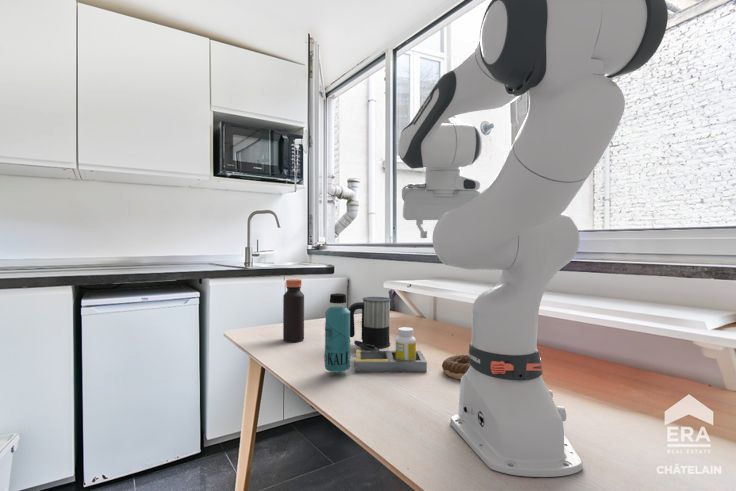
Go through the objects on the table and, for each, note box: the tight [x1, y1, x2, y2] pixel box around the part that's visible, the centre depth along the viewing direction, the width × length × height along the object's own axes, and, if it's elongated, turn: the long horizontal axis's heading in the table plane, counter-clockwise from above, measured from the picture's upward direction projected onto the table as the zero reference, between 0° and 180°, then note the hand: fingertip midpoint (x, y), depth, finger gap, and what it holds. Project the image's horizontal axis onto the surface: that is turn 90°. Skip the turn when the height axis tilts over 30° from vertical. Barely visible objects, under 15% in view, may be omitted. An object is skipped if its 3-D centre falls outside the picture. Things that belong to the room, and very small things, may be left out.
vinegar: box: [282, 278, 305, 343], centre depth 125 cm, size 7×7×20 cm
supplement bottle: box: [395, 326, 417, 360], centre depth 101 cm, size 5×5×10 cm
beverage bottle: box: [323, 292, 351, 373], centre depth 94 cm, size 6×7×20 cm
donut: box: [441, 354, 470, 381], centre depth 94 cm, size 11×11×4 cm
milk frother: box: [347, 296, 392, 351], centre depth 117 cm, size 14×16×15 cm
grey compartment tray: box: [355, 349, 428, 373], centre depth 101 cm, size 10×18×3 cm, turn 91°
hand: (442, 237), depth 97 cm, fingers open, 8 cm apart
